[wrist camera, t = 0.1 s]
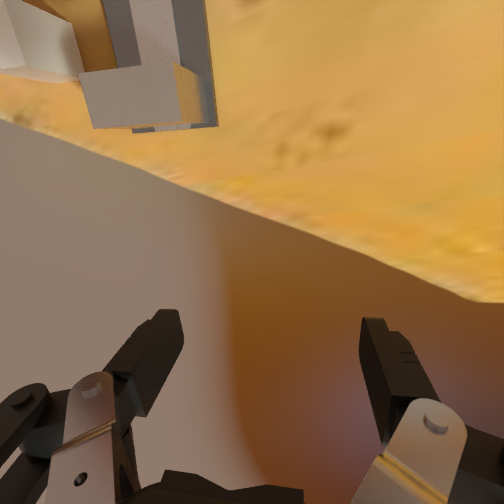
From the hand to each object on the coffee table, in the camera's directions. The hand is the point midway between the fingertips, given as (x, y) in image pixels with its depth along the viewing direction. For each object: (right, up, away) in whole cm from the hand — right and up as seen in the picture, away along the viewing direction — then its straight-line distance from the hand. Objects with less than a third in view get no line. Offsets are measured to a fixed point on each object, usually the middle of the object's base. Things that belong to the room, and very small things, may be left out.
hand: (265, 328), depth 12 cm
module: (-25, +29, +24) cm, 45 cm away
